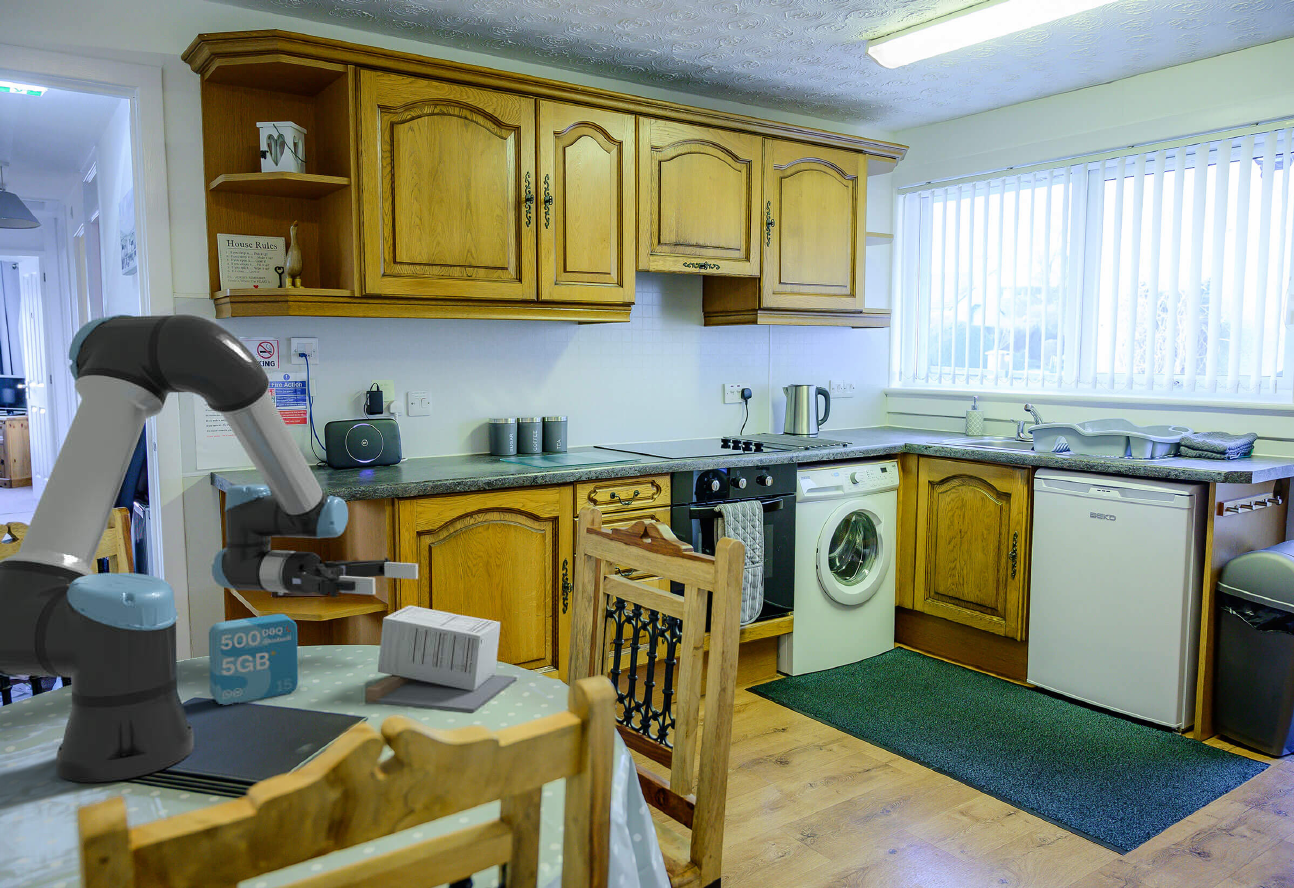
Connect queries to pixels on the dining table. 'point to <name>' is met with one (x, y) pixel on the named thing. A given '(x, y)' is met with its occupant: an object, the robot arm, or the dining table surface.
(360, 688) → the dining table surface
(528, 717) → the dining table surface
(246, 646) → the data package
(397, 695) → the topple mat
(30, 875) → the dining table surface
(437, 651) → the supplement box
